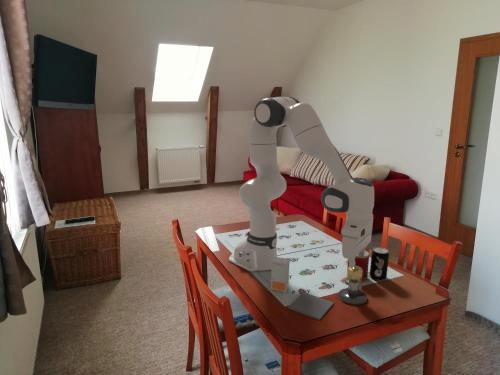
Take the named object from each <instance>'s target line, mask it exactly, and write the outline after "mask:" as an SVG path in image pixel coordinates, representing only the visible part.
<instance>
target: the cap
mask: <svg viewBox="0 0 500 375" xmlns="http://www.w3.org/2000/svg"><path fill="white" fill-rule="evenodd" d="M362 271H363V270H362V268H361V267H358V266H354V267H350V266H349V267H348V269H346V280H347V282H349V281H350V282H355V283H358V282H359V283H361V282H363V281H362Z"/></svg>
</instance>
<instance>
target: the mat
mask: <svg viewBox="0 0 500 375" xmlns="http://www.w3.org/2000/svg"><path fill="white" fill-rule="evenodd" d="M334 304H335V302H333V301H331V300H328V299H326V298H325V299H324V298H323V297H320V296H316V295H313V294H310V293H307V292H305V291H303V292H301V294H299V296H297V297H296V298H295V299H294V300H293V301H292V302H291V303H290V304H289V305H288V306H287V309H288V310H290V311H294V312H297V313H300V314H302V315H304V316H307V317H310V318H313V319H314V320H317V321H321V319H322V318H323V317H324V315H326V314H327V313H328V311H329V310H330V309H331V308H332V306H334Z"/></svg>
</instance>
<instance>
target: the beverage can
mask: <svg viewBox="0 0 500 375" xmlns="http://www.w3.org/2000/svg"><path fill="white" fill-rule="evenodd" d="M389 253H390V252H389V250H388V248H385V247H380V246H376V247H373V248H372V251H371V256H370V264H369V265H370V266H369V276H370V277H371V279H373V280H375V281H384V280H386V278H388V277H387V276H388V268H389V259H390V254H389Z"/></svg>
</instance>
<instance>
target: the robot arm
mask: <svg viewBox="0 0 500 375" xmlns="http://www.w3.org/2000/svg"><path fill="white" fill-rule="evenodd" d="M253 115H254V117H253V118H252V119H251V121H250V126H249V134H248V136H249V138H248V139H249V141H248V144H249V145H248V147H249V149H248V151H249V163H250V164H251V166H253V167H254V169H255V172H256V177H255V178H252V179H249V180H248V181H245V183H243V184H242V185H241V186H240V188H239V191H238V193H239V194H238V196H239V199H240V201H241V203H242V204H243V205H244V206H245V207H246V208H247V211H248V214H249V231H247V233H244V237H246V239H244V240H243V241H241V242H239V243H238V244H237V245H236V246H235V248H234V251H233V253H232V254H230V256H229V257H228V261H229V262H230V263H232V264H234V265H236V266H239V267H241V268H242V269H245V270H247V271H248V272H251V273H252V272H257V271H261V272H262V271H272V260H273V259H274V257H278V253H277V243H278V234H277V216H276V214H275V213H274V212H273V211H272V208H271V202H272V201H273V200H276V199H277V198H281V196H282V195H283V194H284V193H285V192H286V190H287V186H288V185H287V181H286V179H285V178H284V176H283V175H282V174H281V171H280V169H279V164H278V152H277V150H278V149H277V132H278V129H279V128H280V127H282V128H285V127H288V128H289V129H290V131H291V133H292V135H293V138H294V140H295V143H296V146H297V147H298V148H299V150H300V151H301V152H302V154H304V155H306V156H307V157H311V158H313V159H317V160H319V161H321V162H322V163H323V164H324V165H325V166H326V167H327V169H328V171H329V173H330V175H331V177H332V179H333V180H334V183H335V184H333V185H330V186H328V187H326V188H325V189H323V191H322V193H321V195H320V196H321V197H320V201H321V204H322V206H323V208H324V209H325V210H326V211H328V212H329V213H337V214H340V213H342V214H343V213H344V214H346V217H345V223H344V224H343V227H342V228H341V235H342V240H341V253H342V254H341V255H342V257H343V258H344V259H347V261H348V260H349V266H350V267H354V266H355V257H356V256H357V255H358V257H361V258H363V257H364V253H365V250H366V249H367V246H368V245H369V244H370V243H371V240H372V232H373V223H374V214H373V209H374V207H375V187H374V184H373V183H372V182H371V180H369V179H366V178H365V177H364V178H363V177H353V176H352V174H351V172H350V171H349V170H348V166H347V165H346V163H345V161H344V160H343V158H342V156H341V154H340V152H339V151H338V149H337V148H336V147H335V145H334V144H333V143H332V141H331V139H330V137H329V136H328V134H327V131H326V130H325V127H324V126H323V122H322V121H321V119H320V116H318V114H317V112H316V110H315V109H314V108H313V106H312V105H311V104H310V103H309V102H301V101H299V99H298V98H295V97H292V96H275V97H266V98H263V99H261V100H260V101H258V102H257V103H256V105H255V107H254V111H253Z"/></svg>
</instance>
